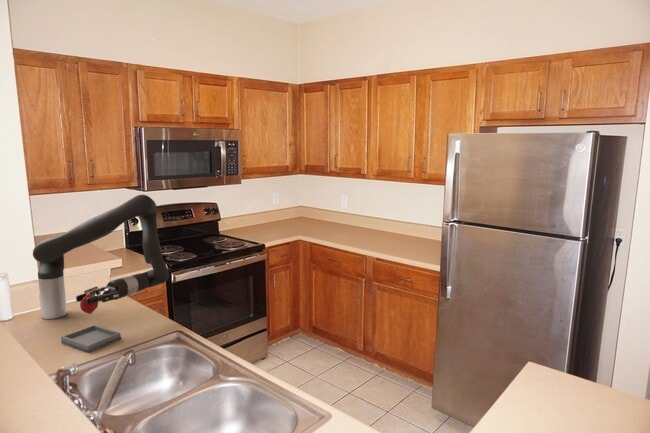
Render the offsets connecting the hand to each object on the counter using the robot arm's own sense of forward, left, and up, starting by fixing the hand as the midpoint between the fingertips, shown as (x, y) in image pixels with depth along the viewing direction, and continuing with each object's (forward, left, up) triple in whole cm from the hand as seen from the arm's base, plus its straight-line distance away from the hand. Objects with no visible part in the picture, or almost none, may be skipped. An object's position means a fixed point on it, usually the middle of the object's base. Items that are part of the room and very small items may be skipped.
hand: (81, 300), depth 158 cm
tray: (0, +2, -17) cm, 17 cm away
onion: (0, +3, -6) cm, 7 cm away
